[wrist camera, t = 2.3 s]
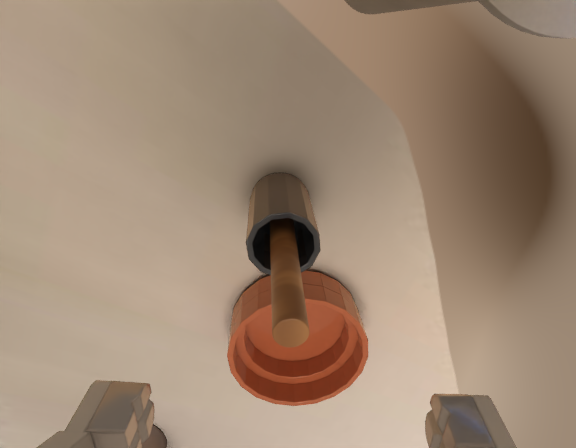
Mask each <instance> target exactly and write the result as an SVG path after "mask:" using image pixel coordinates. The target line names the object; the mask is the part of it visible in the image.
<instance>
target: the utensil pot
mask: <svg viewBox="0 0 576 448" xmlns="http://www.w3.org/2000/svg"><path fill="white" fill-rule="evenodd" d="M283 218H290V219H293V222H294V228H295V235H296V242H297V249H298V256H299V263H300V270H301V273H302V272H303V271H305V270H306V269H308V268H309V267H311V266H312V265H313V263H314V261H315V260H316V258H317V256H318V254H319V252H320V238H319V231H318V228H317V224H316V220H315V216H314V212H313V209H312V205H311V201H310V197H309V193H308V191H307V189H306V187H305V186H304V184H303V183H302V182H301V181H300V180H299V179H298V178H296V177H295V176H293V175H290V174H287V173H273V174H269V175H267V176H265V177H263V178H262V179H261V180H259V181H258V183H257V184H256V185H255V187H254V188H253V191H252V194H251V197H250V204H249V215H248V226H247V237H246V246H247V251H248V257H249V260H250V261H251V262H252V263H253V264H254V265H255V266H256V267H257V268H258V269H259V270H260V271H261V272H263V273H266V274H269V275H271V260H270V221H271V220H275V219H283Z"/></svg>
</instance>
